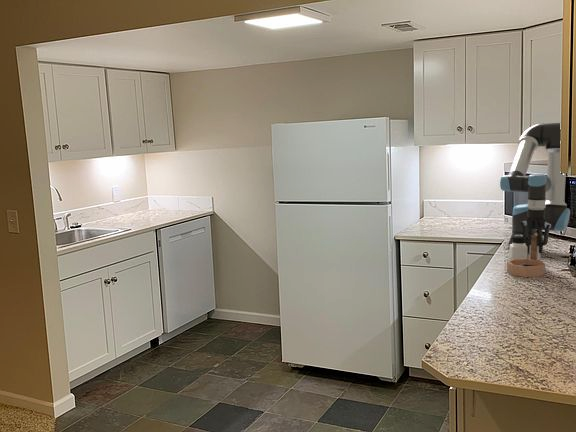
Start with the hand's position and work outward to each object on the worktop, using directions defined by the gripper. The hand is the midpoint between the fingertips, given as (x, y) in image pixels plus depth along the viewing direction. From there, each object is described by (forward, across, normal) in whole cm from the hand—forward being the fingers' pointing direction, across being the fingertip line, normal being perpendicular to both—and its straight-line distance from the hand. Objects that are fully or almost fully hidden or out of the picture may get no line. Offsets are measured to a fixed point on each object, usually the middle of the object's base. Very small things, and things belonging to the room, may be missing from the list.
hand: (534, 258), depth 271 cm
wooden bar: (+3, 0, 0) cm, 3 cm away
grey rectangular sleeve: (+3, +1, -12) cm, 13 cm away
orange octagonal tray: (+3, +1, -12) cm, 13 cm away
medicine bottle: (+4, -11, +8) cm, 14 cm away
